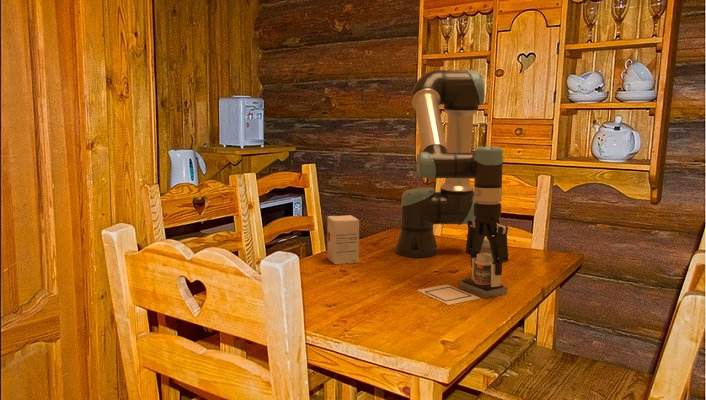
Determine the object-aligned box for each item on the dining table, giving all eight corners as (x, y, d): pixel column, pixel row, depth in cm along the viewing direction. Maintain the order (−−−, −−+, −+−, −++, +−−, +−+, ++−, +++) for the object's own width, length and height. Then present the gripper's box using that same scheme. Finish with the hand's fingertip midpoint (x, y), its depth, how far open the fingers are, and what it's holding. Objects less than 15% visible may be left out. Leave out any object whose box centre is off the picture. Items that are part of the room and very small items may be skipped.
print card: (416, 290, 159) (416, 289, 159) (447, 285, 164) (447, 284, 164) (448, 305, 147) (448, 304, 147) (480, 298, 152) (480, 297, 152)
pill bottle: (474, 284, 157) (475, 256, 156) (473, 280, 161) (475, 252, 160) (491, 286, 156) (492, 257, 155) (490, 281, 161) (492, 252, 159)
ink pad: (458, 287, 162) (459, 279, 162) (479, 283, 166) (479, 276, 166) (485, 298, 153) (485, 290, 152) (506, 293, 157) (507, 286, 156)
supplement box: (326, 258, 194) (326, 215, 191) (351, 256, 197) (351, 214, 194) (333, 265, 185) (334, 220, 183) (359, 263, 188) (359, 219, 186)
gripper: (453, 199, 162) (452, 276, 164) (504, 207, 145) (501, 293, 147) (473, 198, 166) (471, 273, 168) (524, 205, 148) (521, 289, 151)
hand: (485, 282), depth 158 cm, fingers open, 7 cm apart
